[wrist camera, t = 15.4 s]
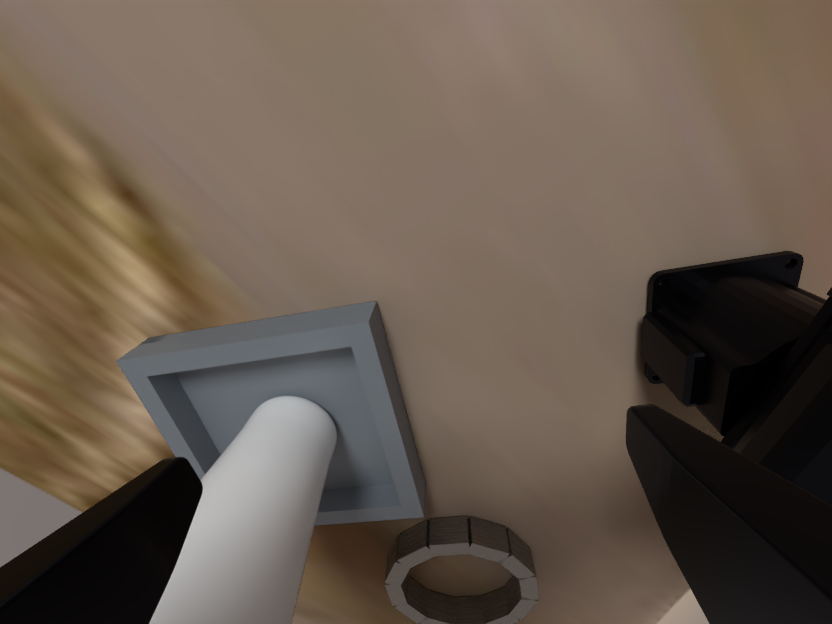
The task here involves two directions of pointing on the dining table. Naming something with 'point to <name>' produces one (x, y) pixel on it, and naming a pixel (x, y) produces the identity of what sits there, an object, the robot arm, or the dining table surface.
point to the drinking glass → (254, 521)
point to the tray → (291, 376)
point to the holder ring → (461, 616)
